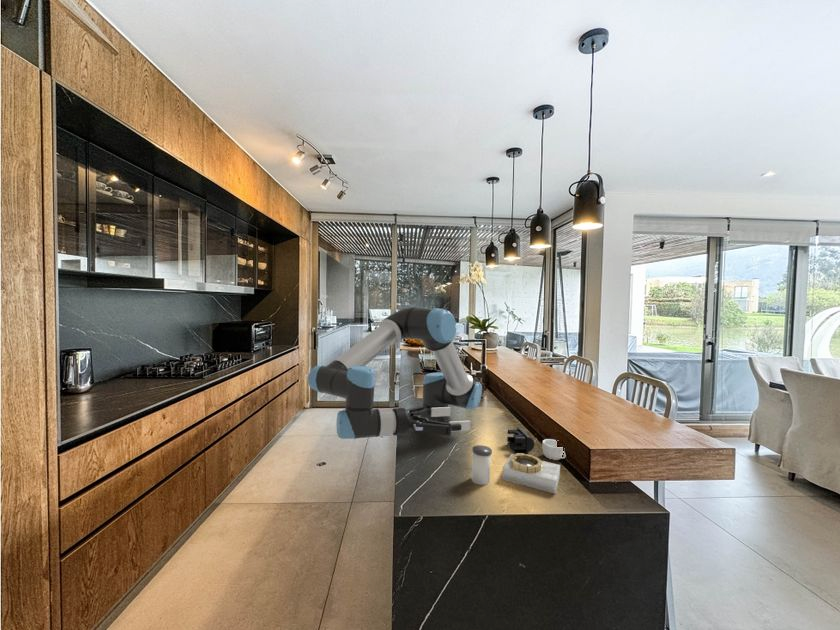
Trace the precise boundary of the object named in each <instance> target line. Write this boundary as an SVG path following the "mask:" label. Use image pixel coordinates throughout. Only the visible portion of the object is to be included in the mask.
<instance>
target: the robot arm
mask: <svg viewBox="0 0 840 630" xmlns="http://www.w3.org/2000/svg"><path fill="white" fill-rule="evenodd" d="M378 325H379V326H378V327H377V328H375V329H374V330H372V331H371V332H370V333H368V334H367V335H366V336H364V337H363V338H362V339H360V340H359V341H358V342H357V343H355V344H354V345H352V347H350V348H349V349H346V351H345V352H343V353H342V354H340V355H339V356H338V357H337V358H335V359H334V360H333V361H331V362H330V363H328V364H327V365H315V366H314V367H312V369H311V370H310V371H309V373H308V376H307V382H308V383H307V384H308V386H309V387H310V388H311V389H312V390H314V391H315V392H319V393H321V394H326V395H331V396H333V397H334V396H335V397H338V398H343V399H345V406H344V407H345V408H344V409H343V410H339V411H338V412H337V414H336V425H335V426H336V435H337V437H338V438H340V439H341V440H345V439H348V440H349V439H351V440H356V439H362V438H363V439H365V438H377V437H378V438H379V437H380V438H381V439H383V438H384V437H389V436H391V437H392V436H405V435H407V433H408V431H409V430H410V429H412V430H414V433H415V434H428V435H438V436H447V437H450V436H452V433H453V432H455V433H457V432H468V431H469V432H470V431H471V424H472V423H471V420H457V421H456V420H455V421H452V418H451V411H452V410H451V406H453V407H458V408H461V409H466V410H471V411H472V410H473V411H474V410H475V409H477V408H478V406H479V404H480V402H481V399H482V391H483V387H482V384H481V382H478V381H474V379H473V376H472V375H470V374H469V373H468V372H466V370H465V368H464V366H463V362H462V361H461V359H460V356H459V353H458V351H457V349H456V347H455V344H454V342H453V341H454V339H455V337H456V333H457V327H456V325H457V322H456V319H455V317H454V315H453V313H452V312H450V311H449V310H446V309H442V308H438V307H437V308H431V307H430V308H429V307H414V306H413V307H412V306H411V307H410V306H409V307H405V308H402V309H399V310H396V311H395V312H393V313H391V314H390V315H388V316H386V317H385V318H384V319H382V320H381V321H380V322H379V324H378ZM405 339H409V340H411V339H412V340H417V341H421V342H422V344H423V346H424V347H425V349H426V350H427V351H430V352H431V353H432V354H433V357H434V359H435V361H436V362H437V366H438V368H439V369H440V371H441V372H438V371H437V372H431V373H427V374H425V375H424V377H423V383H422V405H421V406H417V407H413V408H409V409H406V407H405V408H404V407H396V408H395V407H394V408H390V407H389V408H374V398H375V397H374V396H375V387H376V386H375V385H376V381H375V370H374V369H373V368H372V367H371V366H367V365H369V363H371V362H372V361H374V359H375V358H377V357H378V356H379V355H380V354H381V353H382V352H384V351H385V350H386V349H387V348H388V347H390V346H392V344H397V343H399V342H400V341H402V340H405Z"/></svg>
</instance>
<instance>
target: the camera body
mask: <svg viewBox="0 0 840 630" xmlns="http://www.w3.org/2000/svg"><path fill="white" fill-rule="evenodd" d="M560 474H561V464H558V463H554V462H550V461H549V462H548V461H545V460H541V459H540V458H539V457H537V456H534V455H532V454H528V453H527V454H515V453H510V455H509V457H508V458H507V460H506V462H505V464H504V466H503V467H502V478H501V479H502V481H506V482H509V483H513V484H515V485H516V484H517V485H520V484H521V486H524V485H525V487H528V488H533V489H535V490H540V491H544V492H546V493H551V494H556V493H557V489H558V486H559V480H560V477H561V476H560Z"/></svg>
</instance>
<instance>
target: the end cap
mask: <svg viewBox="0 0 840 630" xmlns="http://www.w3.org/2000/svg"><path fill="white" fill-rule="evenodd" d="M507 434H508V435H513V436H507V437H506V438H507V439H506V442H507V444H508V445H509V446H510V447H509V446H508V445H507V446H508V447H509V449H511V451H512V450H513V451H514V452H515V453H527V454H528V453H530V452H532V451H533V450H534V447H535V442H534V439H533V438H532V437H531V436H530V435H529V434H528V433H527V432H526V431H525V430H524V429H522V428H521V427H517V428H516V429H507ZM513 451H512V452H513ZM514 452H513V453H514ZM515 453H514V454H515Z"/></svg>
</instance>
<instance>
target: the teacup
mask: <svg viewBox="0 0 840 630" xmlns="http://www.w3.org/2000/svg"><path fill="white" fill-rule="evenodd" d="M557 441H558V440H557ZM557 441H556V439H553V438H545V439H543V440H542V443H541V444H542V445H541V446H542V453H543V455H544V456H545V457H546V458H547V459H548V458H549V460H551V459H553V460H552V461H559V460H561V459H565V458H566V457H567V455H566V452H565V450H564V451H563V447H557ZM563 453H564V454H563ZM562 455H563V457H562Z"/></svg>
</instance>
